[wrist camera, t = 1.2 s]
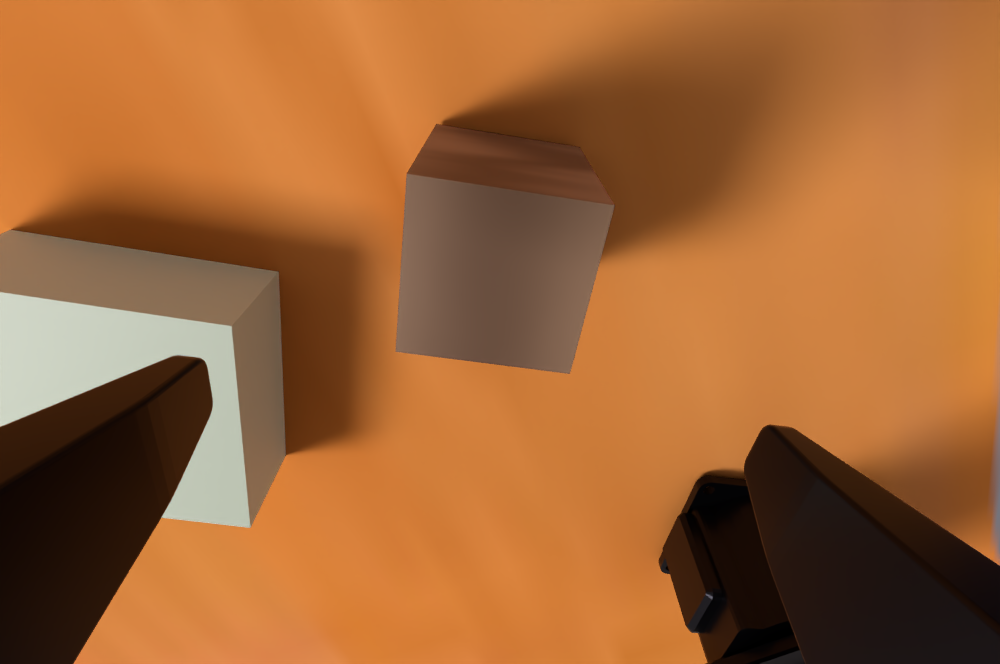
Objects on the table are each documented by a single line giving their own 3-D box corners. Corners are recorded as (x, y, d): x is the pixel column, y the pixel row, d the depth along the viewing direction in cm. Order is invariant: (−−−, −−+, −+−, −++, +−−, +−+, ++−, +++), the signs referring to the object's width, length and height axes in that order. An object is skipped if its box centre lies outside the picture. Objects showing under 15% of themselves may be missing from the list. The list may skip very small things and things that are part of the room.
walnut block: (579, 146, 17) (614, 205, 12) (551, 276, 19) (569, 373, 14) (436, 123, 16) (406, 173, 11) (424, 258, 19) (395, 351, 13)
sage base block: (279, 270, 19) (231, 326, 16) (286, 453, 24) (250, 527, 20) (13, 228, 18) (-100, 277, 15) (73, 425, 23) (-3, 498, 19)
